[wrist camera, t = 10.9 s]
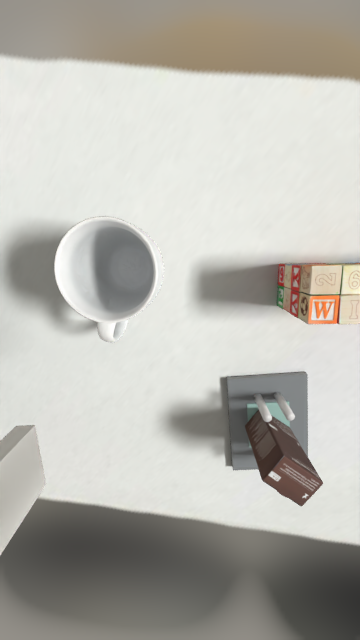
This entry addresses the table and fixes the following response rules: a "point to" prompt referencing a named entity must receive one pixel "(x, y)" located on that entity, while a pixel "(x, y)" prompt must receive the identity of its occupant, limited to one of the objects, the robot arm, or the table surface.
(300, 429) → the grey pegged stand
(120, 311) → the mug
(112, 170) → the table surface
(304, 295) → the stack of blocks
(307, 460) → the box
